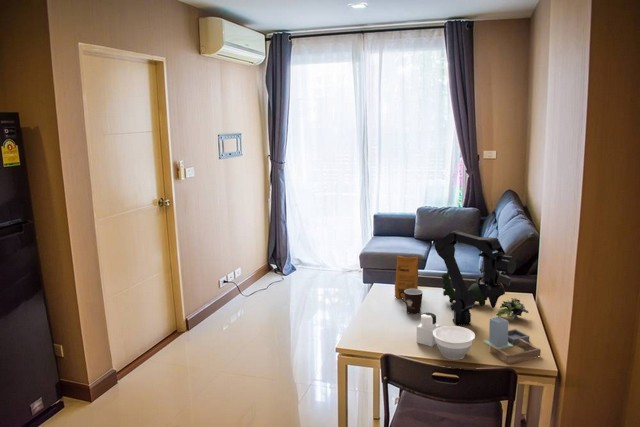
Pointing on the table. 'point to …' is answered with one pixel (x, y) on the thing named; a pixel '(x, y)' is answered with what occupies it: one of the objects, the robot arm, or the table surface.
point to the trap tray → (516, 336)
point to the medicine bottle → (427, 329)
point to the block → (498, 331)
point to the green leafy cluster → (512, 308)
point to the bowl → (453, 341)
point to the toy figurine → (451, 292)
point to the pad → (499, 346)
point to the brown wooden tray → (513, 358)
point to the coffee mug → (412, 300)
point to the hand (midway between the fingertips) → (489, 304)
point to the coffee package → (406, 275)
